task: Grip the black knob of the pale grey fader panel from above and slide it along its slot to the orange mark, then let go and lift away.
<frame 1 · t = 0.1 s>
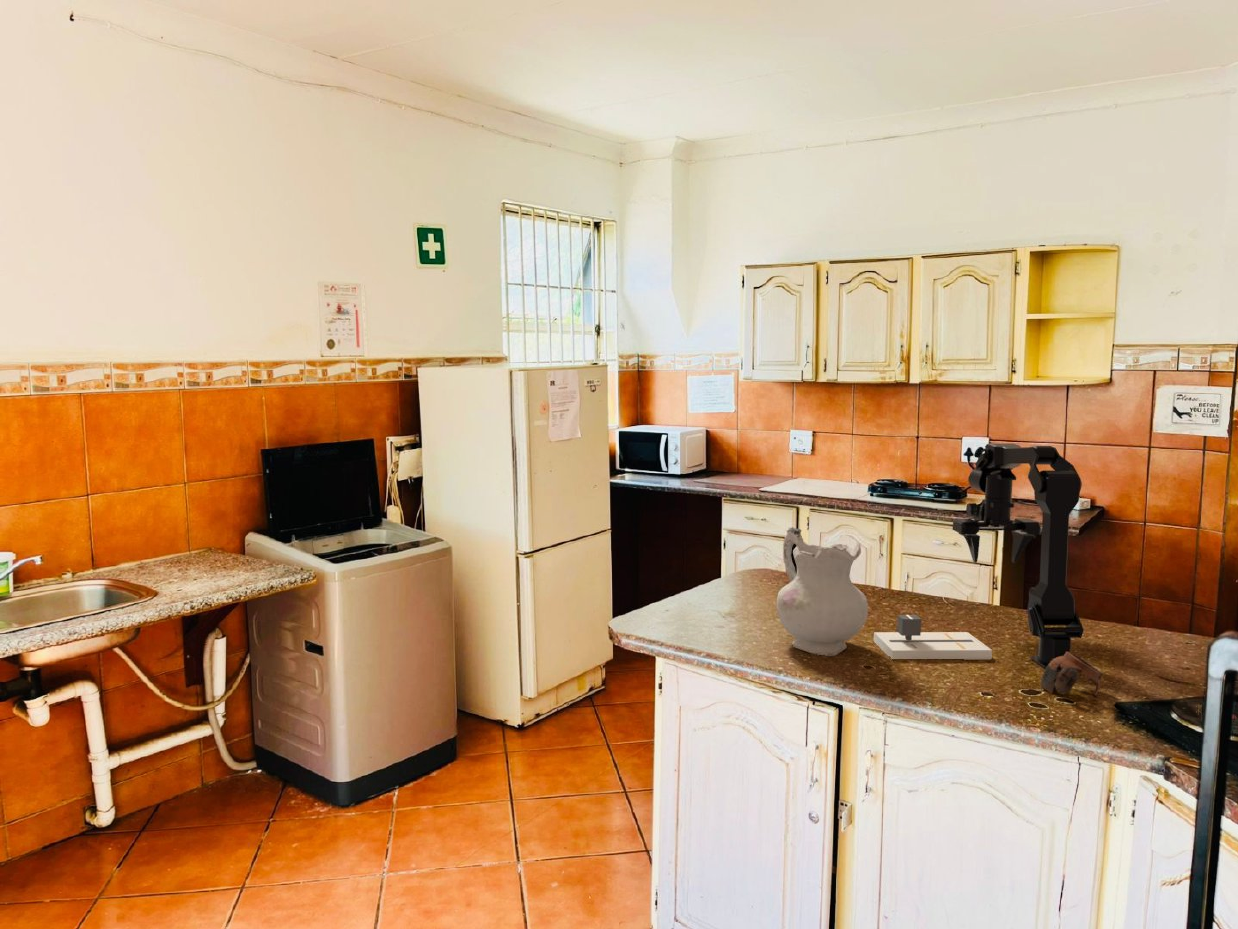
hand: (994, 562, 207), 15 cm above the counter, tool pointing down, fingers open, 9 cm apart
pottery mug: (1067, 693, 166), on the counter
fader knob: (908, 628, 188), point 5 cm above the counter, slide at 5.0 cm
ceramic pitcher: (815, 645, 192), on the counter
fader panel: (930, 650, 189), on the counter
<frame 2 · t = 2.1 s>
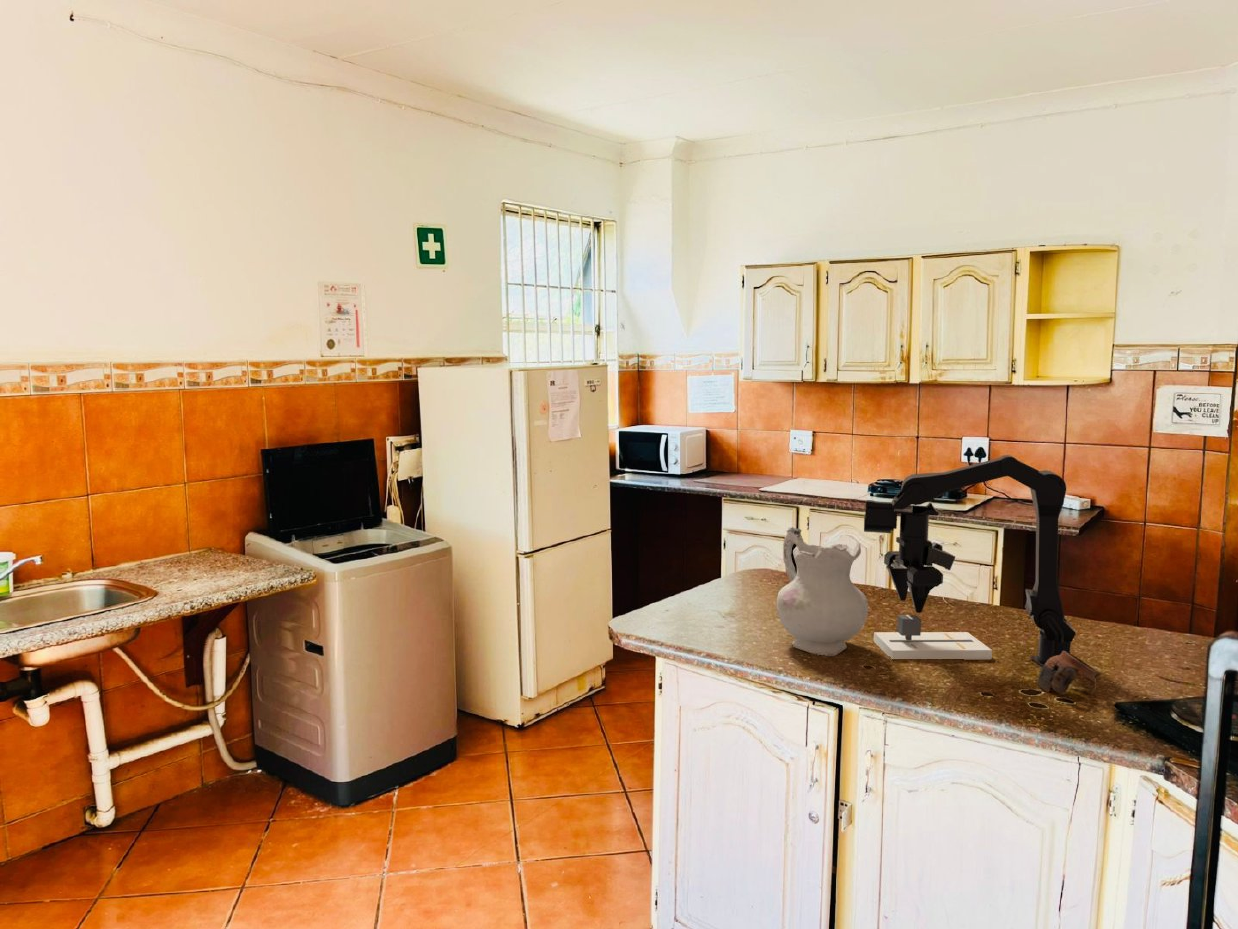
hand: (910, 606, 187), 10 cm above the counter, tool pointing down, fingers open, 9 cm apart
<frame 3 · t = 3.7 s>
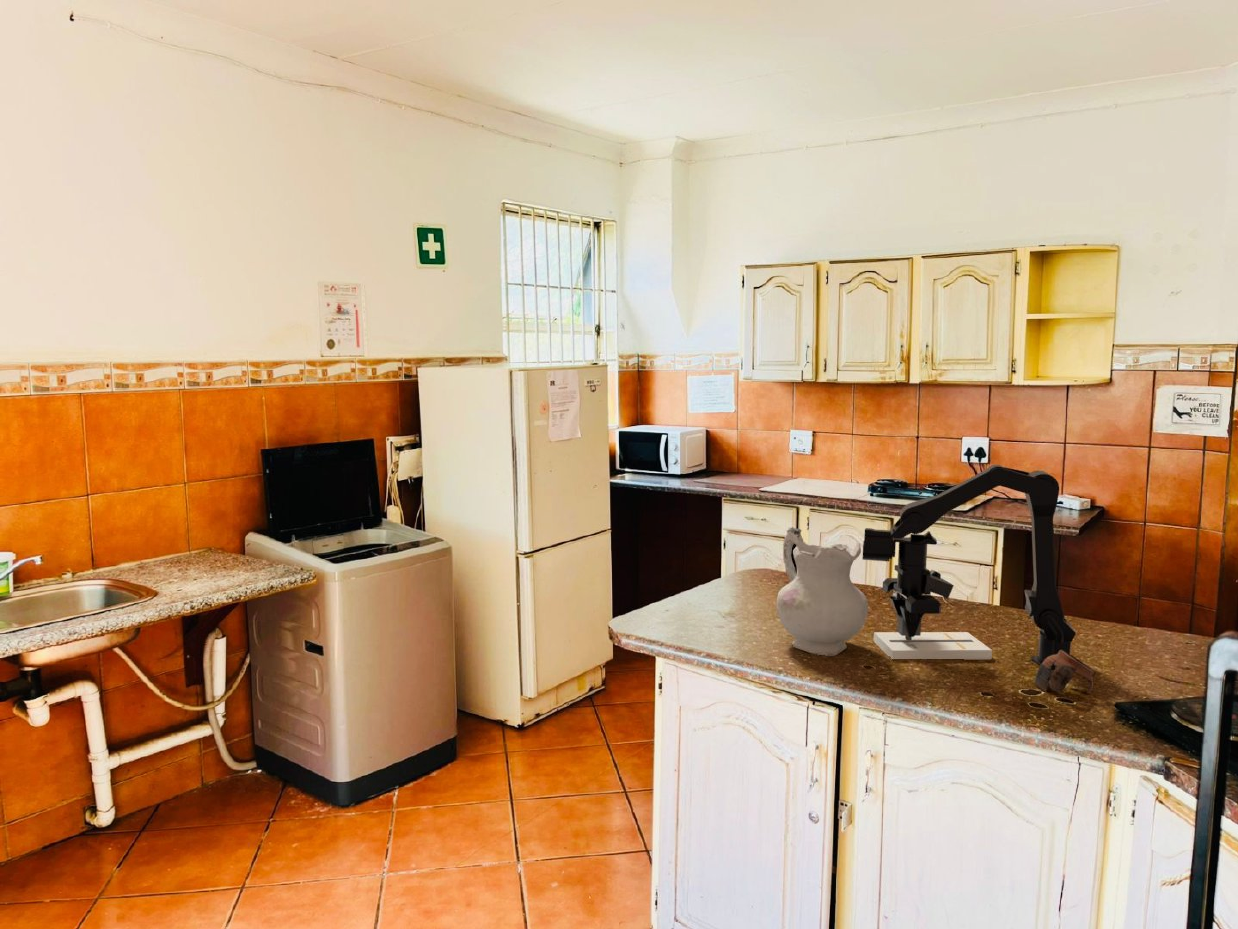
hand: (908, 634, 188), 4 cm above the counter, tool pointing down, fingers closed on fader knob, 3 cm apart
fader knob: (908, 628, 188), point 5 cm above the counter, slide at 5.0 cm, touching gripper
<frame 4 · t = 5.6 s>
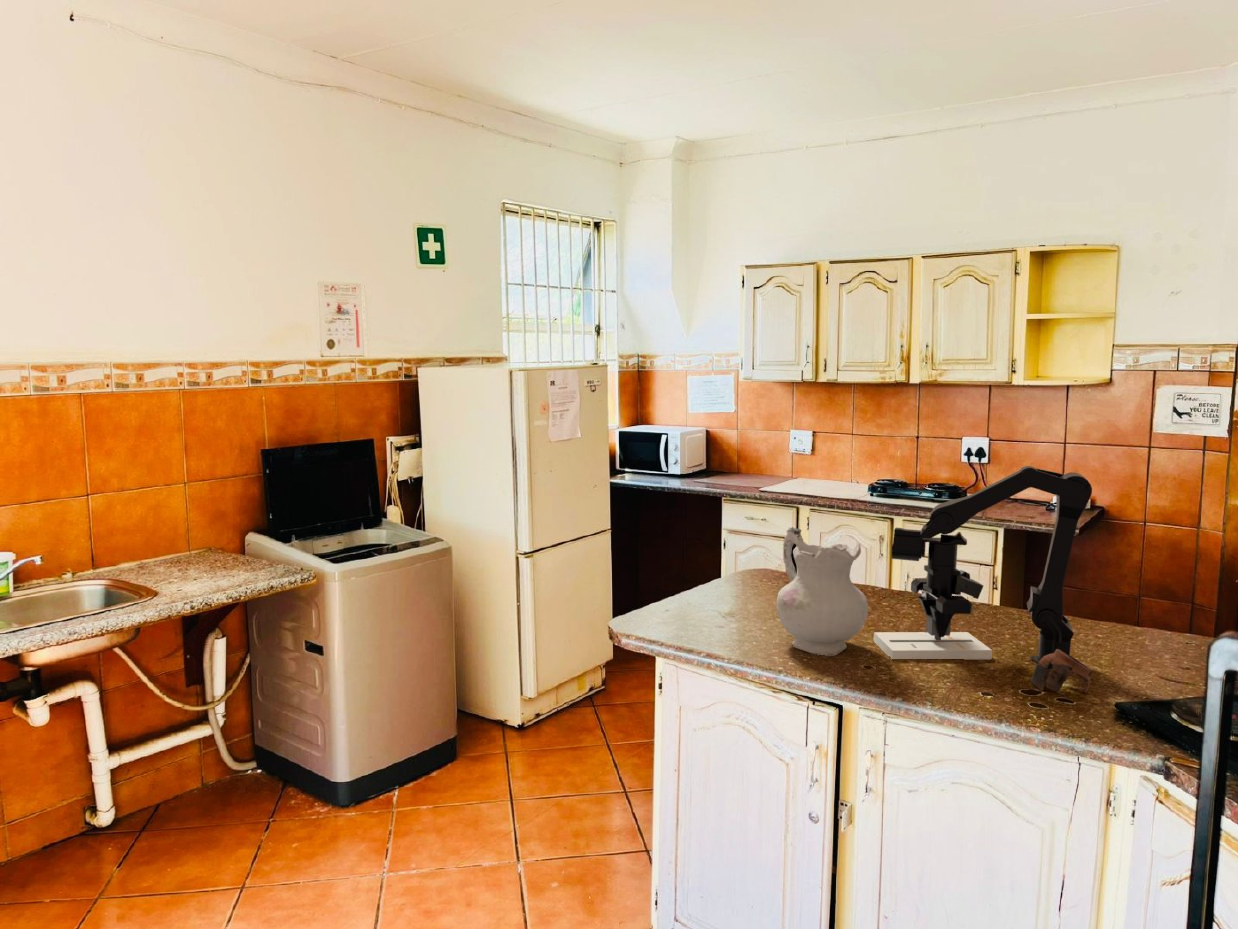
hand: (938, 634, 188), 3 cm above the counter, tool pointing down, fingers closed on fader knob, 3 cm apart
fader knob: (938, 628, 188), point 5 cm above the counter, slide at -1.4 cm, touching gripper
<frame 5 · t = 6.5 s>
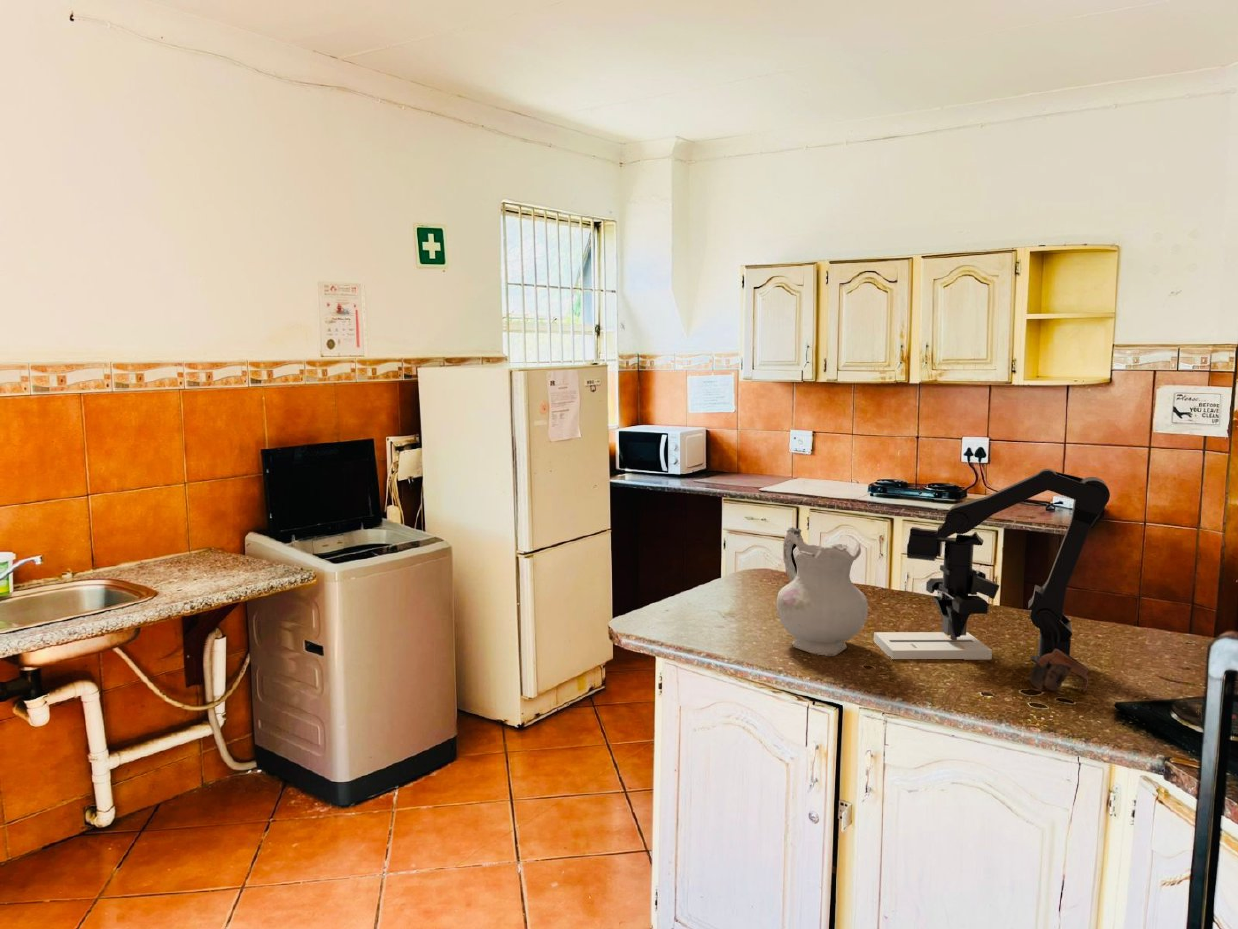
hand: (954, 634, 189), 3 cm above the counter, tool pointing down, fingers closed on fader knob, 3 cm apart
fader knob: (954, 628, 188), point 5 cm above the counter, slide at -4.8 cm, touching gripper
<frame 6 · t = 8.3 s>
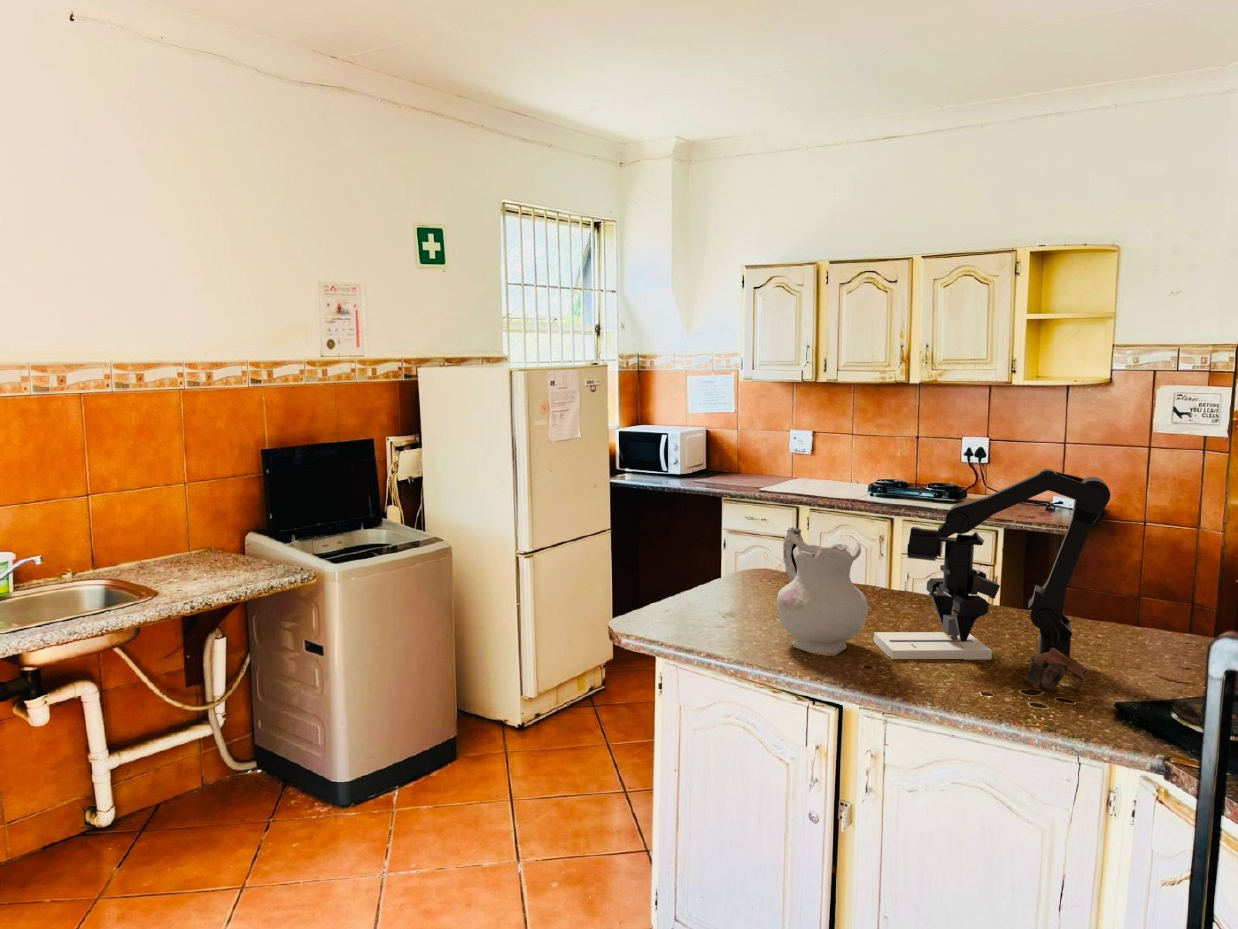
hand: (954, 634, 189), 3 cm above the counter, tool pointing down, fingers open, 9 cm apart
fader knob: (954, 628, 188), point 5 cm above the counter, slide at -5.0 cm
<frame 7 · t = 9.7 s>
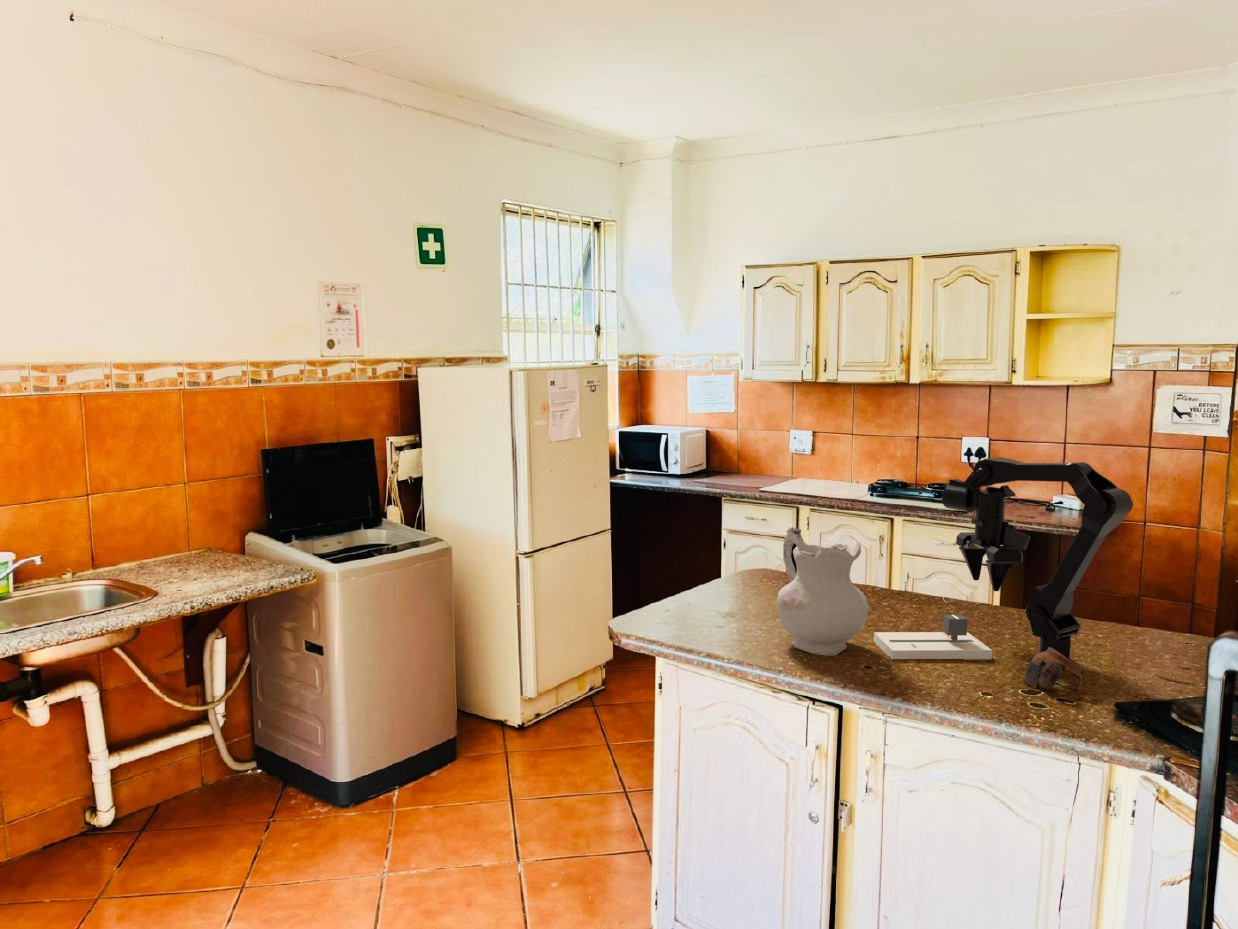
hand: (985, 585, 192), 13 cm above the counter, tool pointing down, fingers open, 9 cm apart
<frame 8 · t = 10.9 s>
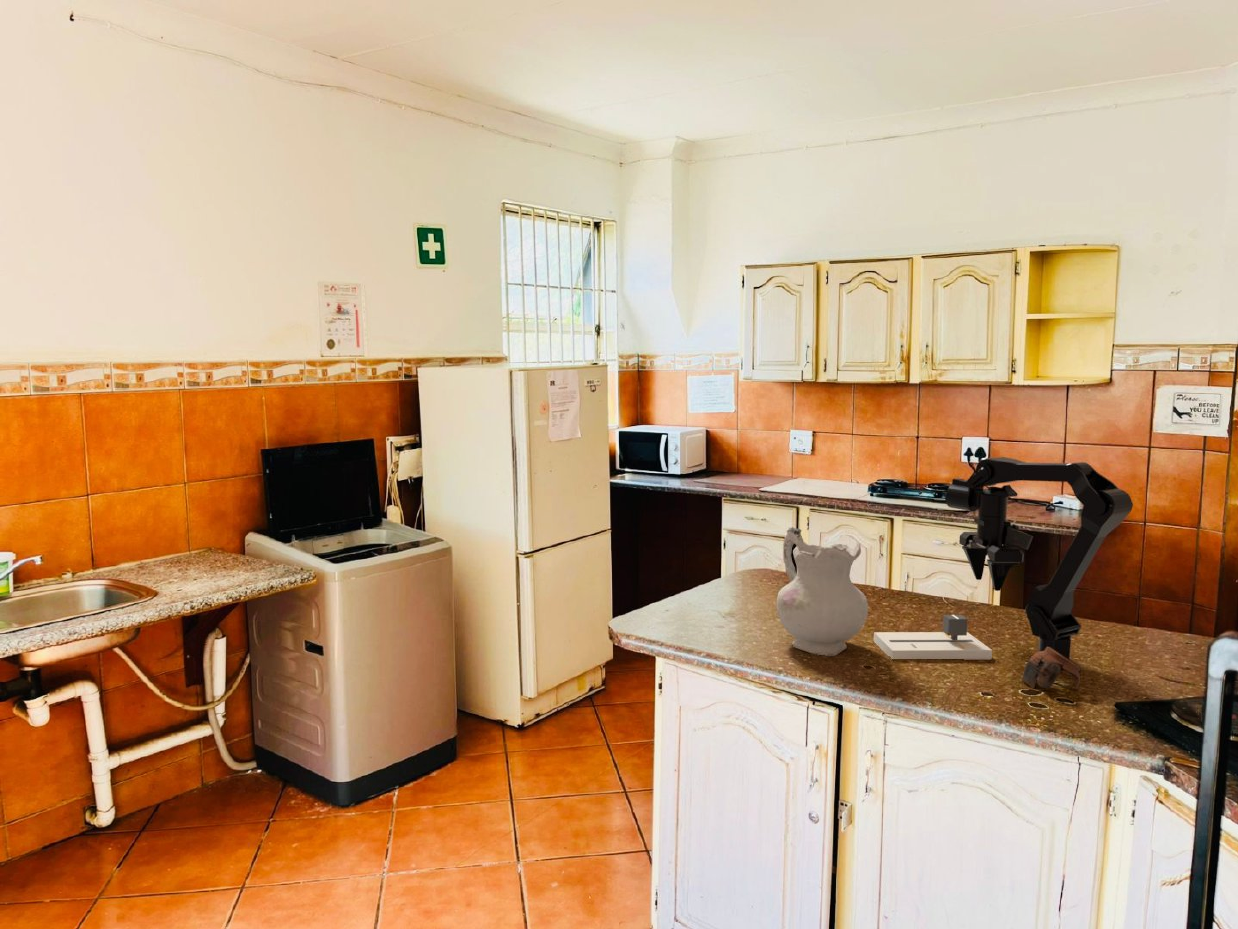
hand: (987, 585, 193), 13 cm above the counter, tool pointing down, fingers open, 9 cm apart
at the end: fader knob slide at -5.0 cm; ceramic pitcher moved 0.2 cm from its start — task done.
